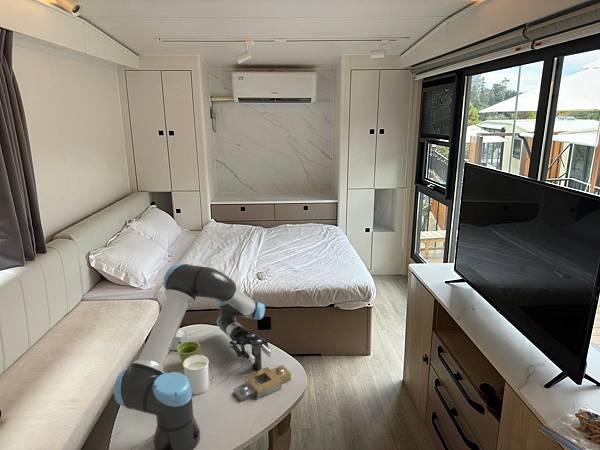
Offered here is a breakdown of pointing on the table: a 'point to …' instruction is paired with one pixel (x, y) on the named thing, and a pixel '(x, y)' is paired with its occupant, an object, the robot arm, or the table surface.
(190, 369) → the candle holder
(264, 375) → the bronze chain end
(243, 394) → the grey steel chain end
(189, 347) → the plant pot
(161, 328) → the robot arm
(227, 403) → the table surface
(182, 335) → the skincare box
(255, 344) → the black pin
